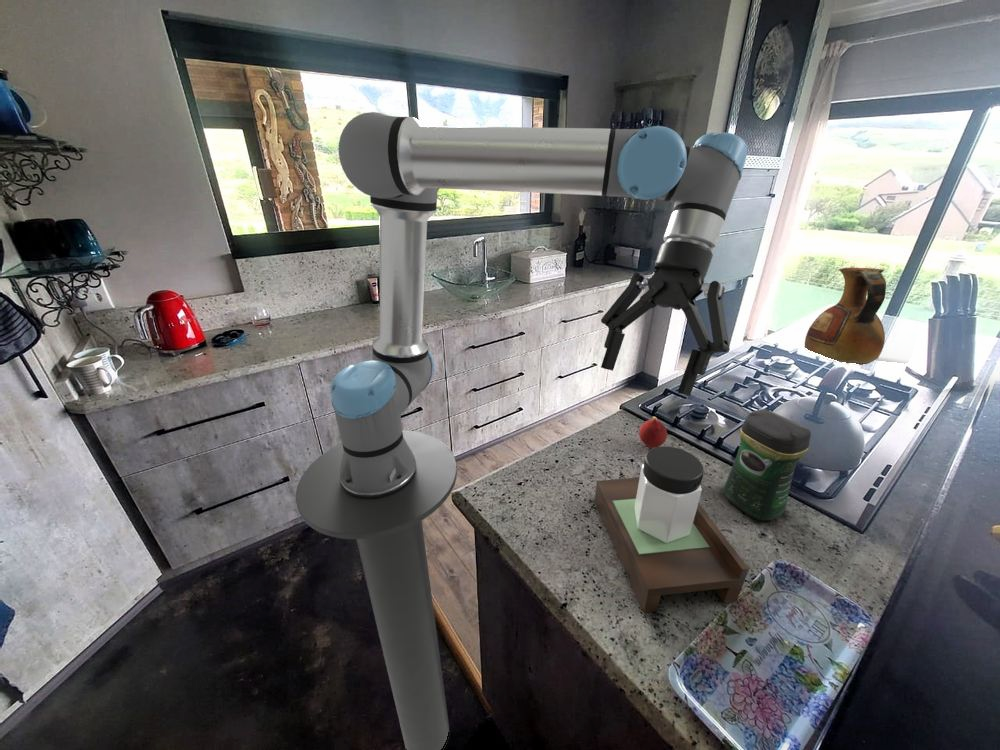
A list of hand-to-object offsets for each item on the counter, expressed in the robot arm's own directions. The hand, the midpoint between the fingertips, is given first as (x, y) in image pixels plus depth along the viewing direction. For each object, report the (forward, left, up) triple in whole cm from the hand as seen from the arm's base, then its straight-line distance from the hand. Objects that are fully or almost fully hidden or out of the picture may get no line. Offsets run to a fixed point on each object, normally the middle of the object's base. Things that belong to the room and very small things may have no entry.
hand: (642, 380), depth 63 cm
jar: (+9, +2, -21) cm, 23 cm away
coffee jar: (+2, +24, -27) cm, 36 cm away
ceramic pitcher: (-56, +95, -27) cm, 114 cm away
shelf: (+9, +2, -26) cm, 28 cm away
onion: (-17, +13, -27) cm, 34 cm away
